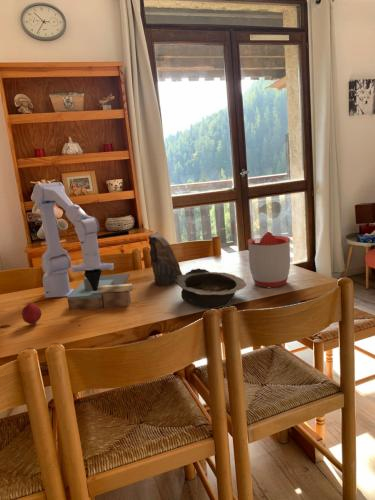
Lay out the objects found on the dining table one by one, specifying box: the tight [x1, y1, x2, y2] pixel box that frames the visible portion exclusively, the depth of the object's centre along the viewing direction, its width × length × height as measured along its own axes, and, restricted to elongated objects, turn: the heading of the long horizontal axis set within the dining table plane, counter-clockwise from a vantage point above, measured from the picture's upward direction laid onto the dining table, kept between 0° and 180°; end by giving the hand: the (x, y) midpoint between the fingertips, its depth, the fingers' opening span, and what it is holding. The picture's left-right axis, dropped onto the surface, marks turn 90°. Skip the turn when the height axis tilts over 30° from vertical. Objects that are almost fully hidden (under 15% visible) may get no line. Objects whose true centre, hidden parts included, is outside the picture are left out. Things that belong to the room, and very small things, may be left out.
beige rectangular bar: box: [97, 283, 134, 293], centre depth 138 cm, size 12×2×2 cm, turn 87°
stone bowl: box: [174, 268, 247, 309], centre depth 136 cm, size 25×25×9 cm
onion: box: [21, 300, 42, 325], centre depth 127 cm, size 6×6×8 cm
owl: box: [147, 231, 184, 288], centre depth 160 cm, size 13×13×20 cm
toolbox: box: [67, 282, 132, 311], centre depth 145 cm, size 21×18×5 cm
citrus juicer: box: [247, 231, 291, 288], centre depth 148 cm, size 16×17×20 cm
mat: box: [99, 273, 131, 285], centre depth 168 cm, size 15×20×1 cm
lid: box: [66, 276, 114, 301], centre depth 145 cm, size 12×18×5 cm, turn 177°
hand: (95, 290), depth 139 cm, fingers closed
